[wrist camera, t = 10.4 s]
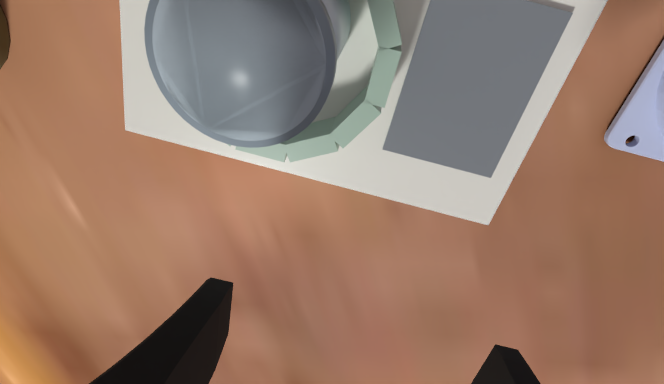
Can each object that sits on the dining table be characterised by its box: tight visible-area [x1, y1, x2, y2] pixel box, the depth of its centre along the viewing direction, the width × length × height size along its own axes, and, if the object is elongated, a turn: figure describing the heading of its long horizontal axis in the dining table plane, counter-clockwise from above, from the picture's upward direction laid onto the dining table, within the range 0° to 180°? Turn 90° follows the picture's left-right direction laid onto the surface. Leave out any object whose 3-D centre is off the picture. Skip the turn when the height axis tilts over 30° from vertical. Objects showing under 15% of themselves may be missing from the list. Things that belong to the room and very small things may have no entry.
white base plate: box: [120, 0, 608, 225], centre depth 16 cm, size 18×12×3 cm, turn 77°
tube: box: [144, 0, 351, 148], centre depth 13 cm, size 5×5×7 cm
